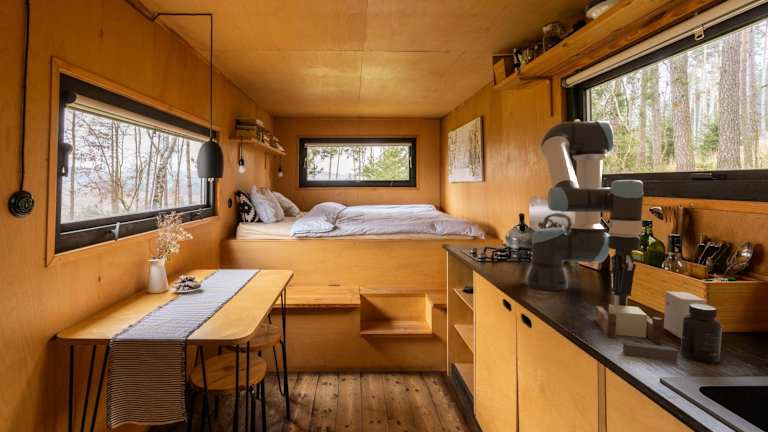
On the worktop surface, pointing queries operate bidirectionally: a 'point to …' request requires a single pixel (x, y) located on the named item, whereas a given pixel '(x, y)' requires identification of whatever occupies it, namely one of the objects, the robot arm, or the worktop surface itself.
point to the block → (629, 320)
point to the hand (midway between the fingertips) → (620, 317)
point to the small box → (678, 310)
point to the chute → (609, 325)
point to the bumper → (650, 351)
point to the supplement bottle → (701, 334)
